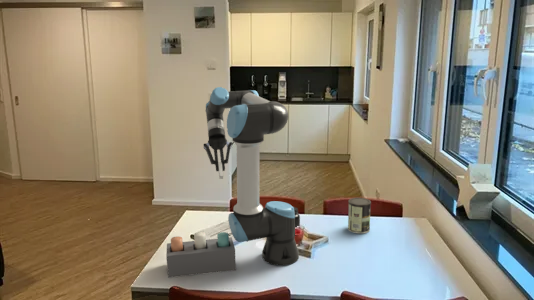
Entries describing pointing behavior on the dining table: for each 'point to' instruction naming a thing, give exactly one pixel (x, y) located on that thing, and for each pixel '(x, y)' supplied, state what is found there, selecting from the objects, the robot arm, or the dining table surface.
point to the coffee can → (359, 215)
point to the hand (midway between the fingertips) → (221, 177)
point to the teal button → (223, 239)
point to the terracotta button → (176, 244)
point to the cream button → (200, 240)
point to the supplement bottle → (296, 217)
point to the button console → (200, 259)
